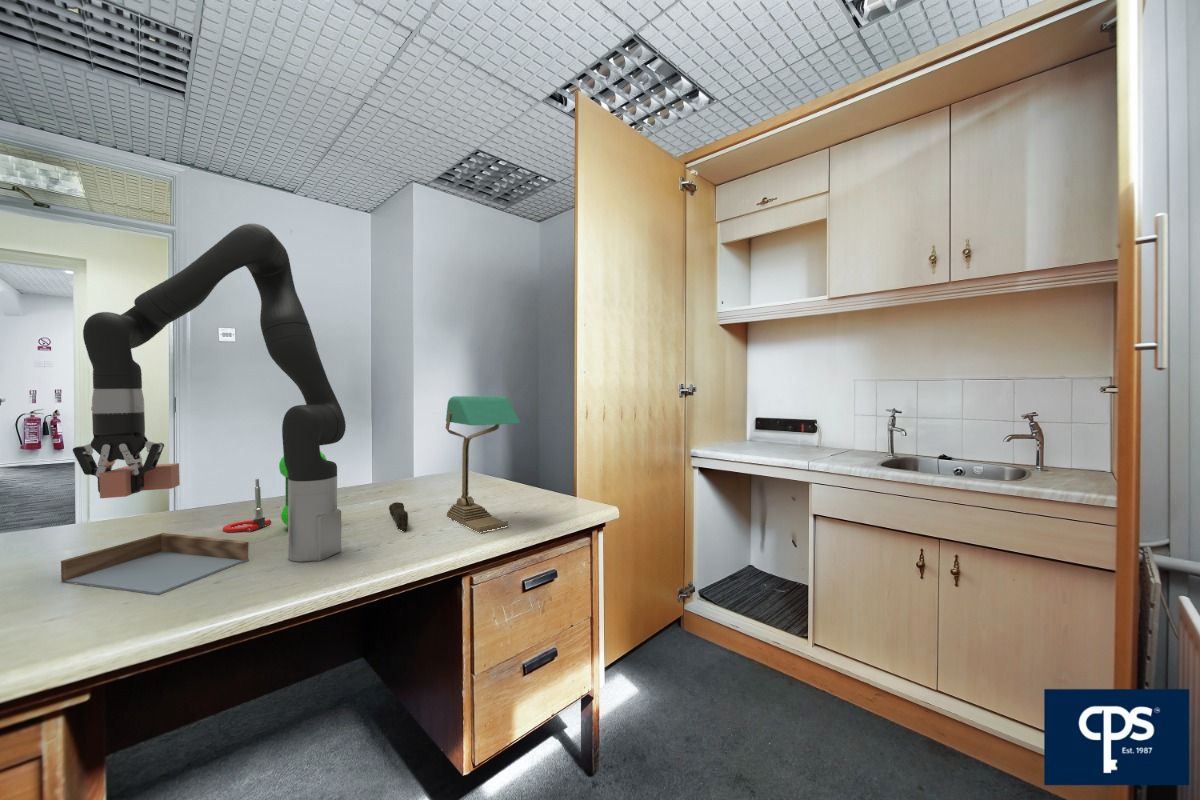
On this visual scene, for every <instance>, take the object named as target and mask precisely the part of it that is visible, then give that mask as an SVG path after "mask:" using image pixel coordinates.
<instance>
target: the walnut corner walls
mask: <svg viewBox="0 0 1200 800" xmlns="http://www.w3.org/2000/svg"><path fill="white" fill-rule="evenodd" d="M161 551H163V552H172V553H181V554H190V555H200V556H209V557H218V558H227V559H236V560H245V559H248V558H249V555H250V553H249V552H250V550H249V541H246V540H238V539H236V540H235V539H226V538H215V537H206V536H196V535H186V534H179V533H178V534H177V533H166V532H162V533H158V534H154V535H151V536H147V537H144V538H140V539H136V540H132V541H130V542H129V541H128V542H125V543H121V544H117V545H114V546H110V547H106V548H103V549H99V550H96V551H93V552H88V553H85V554H81V555H77V556H74V557H70V558H67V559H63V560H60V574H61V575H60V579H61V580H62V582H61V583H65V581H64V582H63V580H69V579H73V578H76V577H79V576H82V575H86V574H89V573H92V572H95V571H99V570H102V569H105V568H108V567H112V566H115V565H118V564H122V563H125V562H128V561H131V560H135V559H138V558H141V557H144V556H148V555H151V554H154V553H157V552H161ZM61 580H60V581H61Z"/></svg>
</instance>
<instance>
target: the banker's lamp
mask: <svg viewBox="0 0 1200 800" xmlns="http://www.w3.org/2000/svg"><path fill="white" fill-rule="evenodd" d="M517 414H518V413H516V409H515V408H514V406H513V404H512V403H511V401H510V399H509V398H507V397H506V396H499V395H497V396H496V395H491V396H489V395H483V396H481V395H479V396H478V395H475V396H473V395H472V396H471V395H470V396H469V395H467V396H466V395H465V396H464V395H463V396H461V395H460V396H458V395H457V396H455V395H453V396H452V397H450V398H449V399H448V401H447V408H446V415H445V416H446V418H445V423H446V424H445V430H446V431H447V432H448V434H450V435H454V436H457V437H460V438H463V442H462V461H461V462H462V463H461V464H462V465H461V466H462V470H461V472H462V473H461V474H462V477H461V479H462V480H461V483H462V484H461V497H459V498H457V500H456V503H453V504H452V505H451V506H450V507H449V509H448V511H447V512H446V518H447V517H449V518H451V519H453V520H455V521H457V522H459V523H461V524H463V525H465V526H467V527H469V528H471V529H473V530H475V531H477V532H479V533H480V532H483V531H487V530H492V529H497V528H501V527H505V526H508V527H509V520H502V519H500V518H498V517H495V516H492V514H491V513H490V512H488V510H487V509H486V508H485V507H483V505H480V504H477V503H475V501H474V499H473V497H472V496H470V495H469V458H470V457H469V452H470V450H469V448H470V442H471V440H473V438H477V437H480V436H483V435H486V434H490V433H492V432H495V431H497V430H499V429H500V425H512V424H513V425H514V424H515V425H516V424H521V423H522V422H521V420H520V418H519V417H518V415H517ZM451 423H454V424H460V425H464V426H465V425H466V426H487V425H488V426H490V425H491V426H492V427H489V428H486V429H483V430H480V431H478V432H475V433H473V434H470V435H468V436H467V437H466V435H463V434H461V433H458V432H456V431H453V430H452V429H450V425H451ZM449 518H448V519H449ZM451 519H450V520H451ZM453 520H452V521H453ZM455 521H454V522H455ZM457 522H456V523H457ZM459 523H458V524H459ZM461 524H460V525H461ZM463 525H462V526H463ZM465 526H464V527H465ZM467 527H466V528H467ZM469 528H468V529H469ZM471 529H470V530H471ZM473 530H472V531H473ZM475 531H474V532H475ZM477 532H476V533H477ZM479 533H478V534H479Z"/></svg>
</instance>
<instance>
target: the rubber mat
mask: <svg viewBox="0 0 1200 800" xmlns="http://www.w3.org/2000/svg"><path fill="white" fill-rule="evenodd" d="M247 560H248V561H249V558H248V559H245V560H236V559H227V558H218V557H209V556H200V555H190V554H181V553H172V552H163V551H161V552H157V553H154V554H151V555H148V556H144V557H141V558H138V559H135V560H131V561H128V562H125V563H122V564H118V565H115V566H112V567H108V568H105V569H102V570H99V571H95V572H92V573H89V574H86V575H82V576H79V577H76V578H73V579H69V580H63V582H62V583H65V582H69V583H68V584H73V583H77V584H76V585H80V584H85V585H84V586H88V585H92V586H91V587H95V586H97V587H96V588H103V589H110V590H112V589H113V590H117V591H125V592H126V591H127V592H132V593H133V592H135V593H140V594H142V593H143V594H147V595H148V594H149V595H155V596H158V595H161V594H164V593H167V592H170V591H173V590H176V589H177V588H180V587H183V586H185V585H188V584H190V583H193V582H196V581H199V580H200V579H203V578H206V577H208V576H211V575H214V574H216V573H219V572H222V571H224V570H227V569H229V568H231V567H234V566H236V565H237V566H238V565H240V564H241V563H244V561H245V562H247ZM61 581H62V580H60V582H61ZM64 581H65V582H64Z"/></svg>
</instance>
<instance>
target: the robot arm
mask: <svg viewBox="0 0 1200 800" xmlns="http://www.w3.org/2000/svg"><path fill="white" fill-rule="evenodd" d="M243 267H246V268H247V270H248V271H249V273H250V275H251V277H252V278H253V281H254V283H255V286H256V288H257V291H258V293H259V296H260V303H261V304H260V313H259V314H260V317H259V319H260V321H259V323H260V329H261V333H262V334H261V335H262V336H263V341H264V343H265V346H266V349H267V353H268V354H269V356H270V358H271V359H272V360H273V361H274V363H275V364H276V365H277V367H278V368H280V369H281V371H282V372H283V373H285V374H286V375H287V376H288V378H289V379H290V380H291V381H292V382H293V383H294V384H295V385H296V387H298V390H299V391H300V392H301V394H302V396H303V399H304V402H305V404H299V405H295V406H292V407H289V409H288V410H287V411H286V412H285V413H284V416H283V420H282V424H281V425H282V427H281V433H282V435H281V437H282V449H283V450H282V451H283V456H284V463H285V467H286V469H287V471H288V526H287V531H288V532H287V543H288V544H287V545H288V547H287V549H288V550H287V551H288V552H287V553H288V554H287V555H288V560H290V561H293V562H311V561H322V560H325V559H327V558H329V557H331V556H334V555H335V554H338V553H339V552H342V510H341V509H340V508H339V509H338V466H337V463H336V462H334V461H332V460H325V459H323V458H322V457H321V454H320V452H321V449H320V448H321V447H320V446H326V445H331V444H336V443H338V442H340V441H341V440H342V439H343V437H344V436H345V433H346V424H347V423H346V418H345V416H344V412H343V409H342V407H341V405H340V403H339V401H338V399H337V397H336V394H335V392H334V390H333V387H332V386H331V384H330V382H329V378H328V377H327V373H326V371H325V368H324V365H323V363H322V359H321V356H320V354H319V351H318V347H317V344H316V341H315V337H314V335H313V331H312V329H311V325H310V323H309V320H308V317H307V315H306V313H305V310H304V307H303V305H302V302H301V300H300V298H299V296H298V293H297V291H296V288H295V282H294V278H293V277H294V276H293V272H292V267H291V263H290V258H289V254H288V252H287V249H286V248H285V246H284V244H283V243H282V242H281V241H280V240H279V239H278V238H277V237H276V235H275V234H274V233H273V232H272V231H271V230H270V229H269V228H267V227H265V226H264V225H262V224H259V223H246V224H245V223H244V224H241V225H240V226H237V227H236V228H235V229H233V230H232V231H230V232H229V233H228V234H226V235H225V236H223V238H221V239H220V240H219V241H218V242H217V243H215V244H214V245H213V246H211V247H210V248H209V249H208V250H206V251H205V252H203V254H202V255H200V256H199V257H198V258H196V259H195V260H194V261H193V262H191V263H190V264H189V265H187V266H186V267H185V268H184V269H182V270H180V271H179V272H177V273H176V274H174V275H172V276H171V277H169V278H167V279H166V280H164V281H162V282H160V283H159V284H157V285H155V286H153V287H151V288H150V289H148V290H146V291H145V292H143V293H141V294H139V295H138V296H137V297H136V298H135V299H134V303H133V304H134V306H132V307H131V308H130V309H128V310H126V311H125V312H124V313H122V314H118V313H115V312H110V311H102V312H100V311H99V312H96V313H94V314H91V315H90V316H89V317H88V318H87V319H86V320H85V323H84V325H83V330H82V332H83V333H82V337H83V342H84V345H85V349H86V351H87V356H88V358H89V361H90V363H91V367H92V386H93V387H92V390H93V391H92V398H91V408H90V409H91V414H92V415H91V417H92V418H91V419H92V422H91V423H92V435H93V438H92V440H91V442H90V443H89V444H86V445H85V444H84V445H81V446H80V445H79V446H75V447H73V448H72V453H73V454H74V456H75V459H76V461H77V462H78V465H79V466H80V468H81V470H82V472H83V474H84V475H86V476H90V475H91V476H95V477H96V478H97V491H98V493H99V494H100V485H99V473H103V472H107V471H111V470H113V466H114V465H115V463H116V461H117V460H118V461H119V460H120V461H125V464H126V466H129V468H130V471H131V473H132V474H133V475H132V476H131V493H134V494H138V493H140V492H142V491H141V489H143V488H144V473H145V472H147V471H150V470H153V469H155V468H156V465H157V464H158V462H159V460H160V458H161V455H162V452H163V450H164V447H165V443H163V442H154V441H149V439H148V438H147V437H146V434H145V433H146V419H145V399H144V393H143V381H142V380H143V379H142V378H143V377H142V376H143V375H142V368H141V366H140V365H139V363H138V362H136V361H135V360H134V357H133V353H132V352H133V351H132V349H136V348H138V347H140V346H142V345H144V344H145V343H147V342H149V341H150V340H151V339H153V338H154V337H155V336H156V335H157V334H159V333H160V332H161V331H162V330H163V329H164V328H165V327H166V326H167V325H168V324H170V323H173V322H175V321H176V320H178V319H179V318H181V317H183V316H184V315H186V314H187V313H190V312H191V311H192V310H194V309H196V308H197V307H200V305H201V304H203V302H205V300H206V299H207V298H208V297H209V295H210V294H211V293H212V291H213V290H215V287H216V286H217V285H218V284H219V283H220V282H221V281H222V280H223V279H225V277H227V276H228V275H230V274H231V273H233V272H235V271H236V270H239V269H240V268H243ZM145 447H146V452H147V453H148V454H147V456H146V459H145V461H144V464H143V458H142V456H141V452H142V451H143V449H144V448H145ZM94 451H95V452H96V453H98V455H100V456H99V458H98V462H96V461H95V459H94V456H93V454H94ZM143 465H144V466H143Z"/></svg>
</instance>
